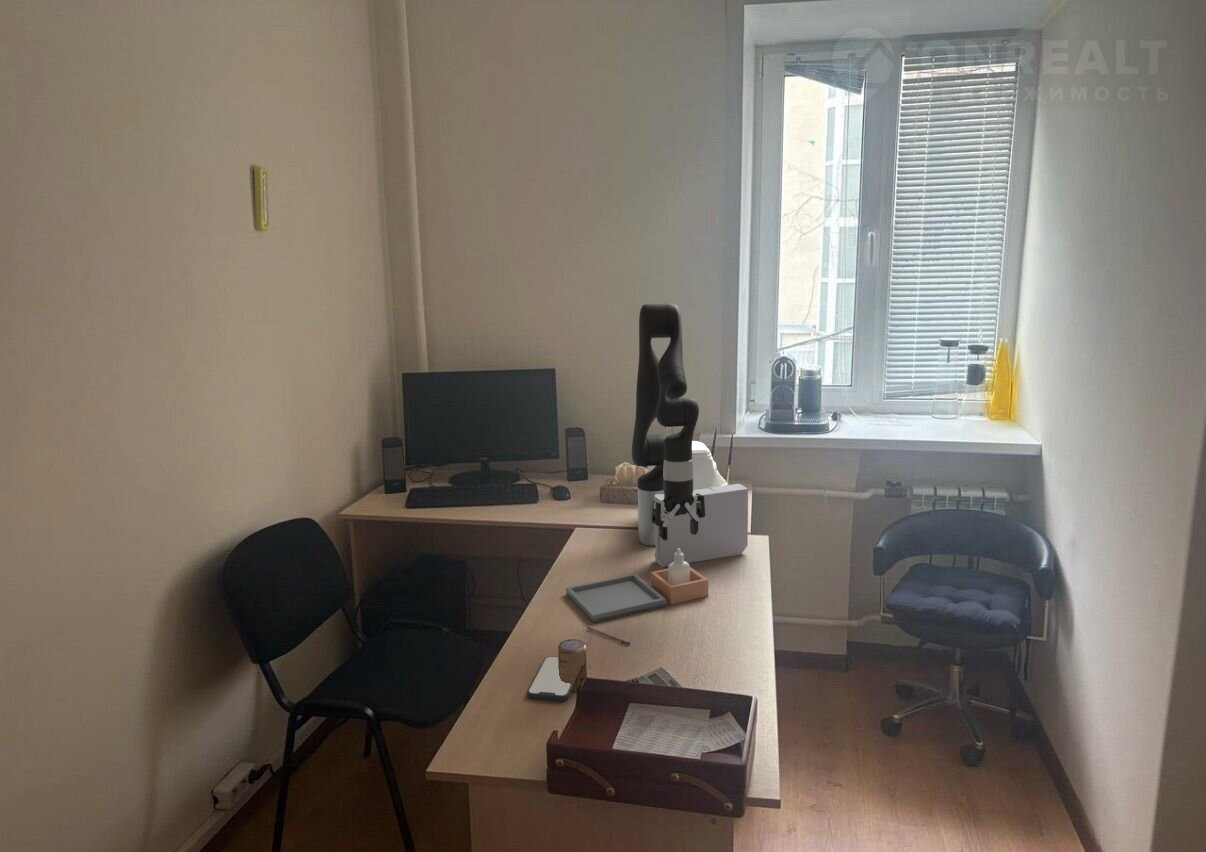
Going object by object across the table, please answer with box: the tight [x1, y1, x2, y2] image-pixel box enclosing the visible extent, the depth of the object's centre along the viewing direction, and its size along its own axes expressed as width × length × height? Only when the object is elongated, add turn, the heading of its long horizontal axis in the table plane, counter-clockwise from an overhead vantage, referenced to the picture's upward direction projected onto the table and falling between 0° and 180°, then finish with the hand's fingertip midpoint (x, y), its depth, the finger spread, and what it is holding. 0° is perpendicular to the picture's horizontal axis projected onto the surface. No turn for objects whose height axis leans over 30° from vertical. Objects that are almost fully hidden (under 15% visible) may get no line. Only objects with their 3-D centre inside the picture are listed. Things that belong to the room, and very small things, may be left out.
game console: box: [654, 483, 749, 568], centre depth 228 cm, size 6×27×20 cm, turn 108°
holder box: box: [650, 566, 709, 605], centre depth 207 cm, size 11×11×4 cm
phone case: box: [526, 655, 574, 703], centre depth 167 cm, size 9×2×16 cm
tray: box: [565, 573, 667, 624], centre depth 204 cm, size 18×20×2 cm
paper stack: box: [646, 440, 729, 490], centre depth 257 cm, size 21×27×26 cm
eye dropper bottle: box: [667, 548, 691, 586], centre depth 206 cm, size 4×6×12 cm
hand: (678, 536), depth 204 cm, fingers open, 8 cm apart
